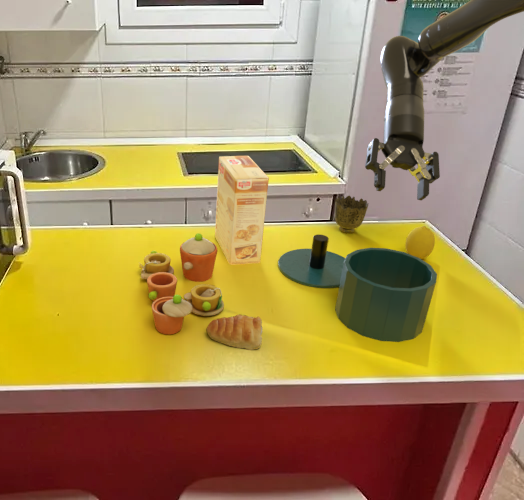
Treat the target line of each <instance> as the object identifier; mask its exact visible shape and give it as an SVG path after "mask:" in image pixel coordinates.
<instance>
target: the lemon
mask: <svg viewBox="0 0 524 500" xmlns="http://www.w3.org/2000/svg"><path fill="white" fill-rule="evenodd" d="M435 244H436V239H435V234H434V232H433V231H432V230H431V229H430V228H428V227H427V226H426V225H421V226H418V227H417V226H416V227H415V228H413V229H412V230H410V232H409V233H408V234H407V237H406V239H405V244H404V245H405V250H406V253H407V254H410V255H413V256H415V257H418V258H420V259H422V260H423V259H425V258H427V257H428V256H429V255H431V254H432V252H433V251H434V249H435Z"/></svg>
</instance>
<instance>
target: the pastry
mask: <svg viewBox="0 0 524 500" xmlns="http://www.w3.org/2000/svg"><path fill="white" fill-rule="evenodd" d="M206 333H207V335H208V336H209V338H210V339H212V340H213V341H214V342H218V343H219V344H224V345H226V346H229V347H233V348H237V349H245V350H251V351H252V350H257V349H260V348H261V346H262V341H263V336H262V335H263V321H262V318H261V317H260V316H256V317H254V316H248V315H242V314H236V315H234V316H228V317H225V316H223V317H220V318H215V319H212V320H211V321H209V324H208V325H207V326H206Z"/></svg>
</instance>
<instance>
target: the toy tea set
mask: <svg viewBox="0 0 524 500" xmlns="http://www.w3.org/2000/svg"><path fill="white" fill-rule="evenodd" d="M179 254H180V261H181V269H182V274H183V277H184V278H185V279H186V280H188V281H190V282H195V283H201V282H207V281H209V280H210V279H211V278H212V277H213V275H214V274H213V273H214V268H215V264H216V259H217V256H218V247H217V245H216V244H215V243H214V242H212V241H211V240H209V239H207V238H206V237H203V235H202V234H201V232H199V233H196V234H195V235H194V236H193V237H191V238H188V239H186V240H185V241H184V242H182V243H181V245H180V246H179ZM171 261H172V259H171V257H170V255H168V254H165V253H162V252H157V250H152V251H150V253H149V254H147V255H145V256H144V258H143V263H144V265H143V264H142V263H141V262H140V261H138V268H139V269H140V271H141V273H140V279H142V280H146V283H147V284H146V285H147V288H148V289H147V290H148V298H149V300H151V301H152V304H151V311H152V316H153V321H154V327H155V329H156V331H157V332H158V333H160V334H163V335H174V334H175V335H176V334H177V333H179V332H180V331H181V330H182V328H183V323H184V319H185V318H184V317H187V316H188V315H190V314H191V313H193V314H195V315H198V316H202V317H211V316H216V315H218V314H221V312H223V310H224V308H225V304H224V301H223V300H222V299H223V293H222V290H221V288H220V287H217V286H215V285H212V284H207V283H203V284H197V285H195V286H193V287H192V288H191V289H190V292H186V293H184V294H183V298H182V296H181V295H180V294H176V290H177V284H178V278H177V277H176V275H175V269H174V267H173V266H171Z"/></svg>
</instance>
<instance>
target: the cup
mask: <svg viewBox="0 0 524 500" xmlns="http://www.w3.org/2000/svg"><path fill="white" fill-rule="evenodd" d="M368 207H369V203H368V201H367V199H365V200H364V199H363V198H362V197H361V198H360V199H359V200H358V199H356V198H355V196H351V195H347V196H346V197H345V196H344V195H343V196H341V197H340V196H338V197H336V198H335V199H334V219H335V220H334V221H335V223H336V224H337V225H338V226H339V227H338V231H339V232H341V233H343V234H347V235H348V234H350V235H351V234H353V233H355V232H356V229H357V228H359V227H360V226H362V223H363V222H364V221H365V220H364V219H365V217H366V214H367V211H368V209H369V208H368Z"/></svg>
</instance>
